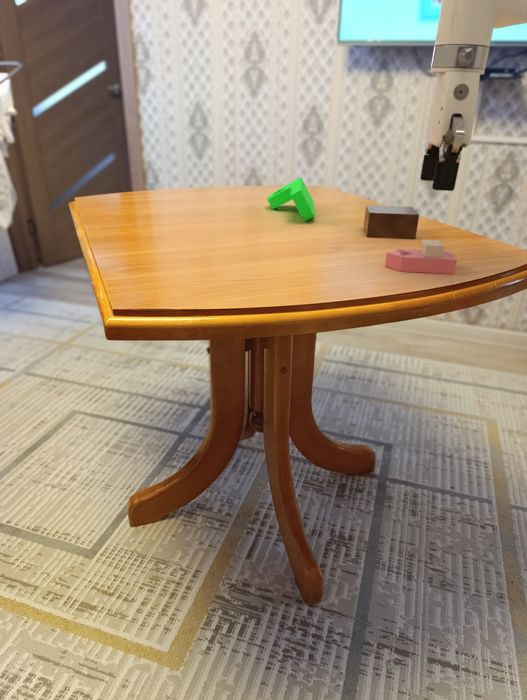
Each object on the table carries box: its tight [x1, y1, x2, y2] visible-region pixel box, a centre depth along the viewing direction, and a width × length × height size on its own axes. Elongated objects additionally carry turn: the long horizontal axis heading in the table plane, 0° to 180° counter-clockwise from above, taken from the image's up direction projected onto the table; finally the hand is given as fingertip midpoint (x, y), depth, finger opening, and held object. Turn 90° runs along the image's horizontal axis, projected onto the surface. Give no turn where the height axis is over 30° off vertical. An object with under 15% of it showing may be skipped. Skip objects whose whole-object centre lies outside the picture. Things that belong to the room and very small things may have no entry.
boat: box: [384, 239, 458, 275], centre depth 87 cm, size 11×5×4 cm, turn 85°
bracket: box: [266, 176, 316, 222], centre depth 123 cm, size 20×10×7 cm
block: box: [363, 204, 420, 240], centre depth 108 cm, size 10×8×5 cm
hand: (435, 185), depth 81 cm, fingers open, 9 cm apart
